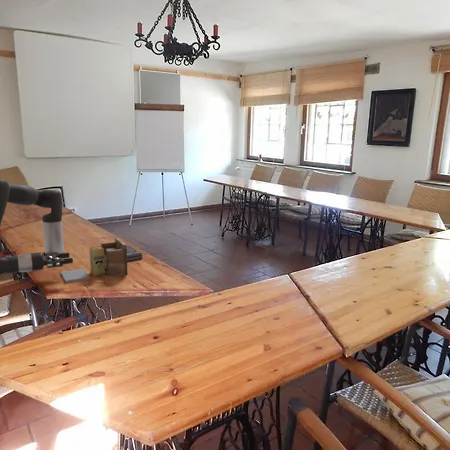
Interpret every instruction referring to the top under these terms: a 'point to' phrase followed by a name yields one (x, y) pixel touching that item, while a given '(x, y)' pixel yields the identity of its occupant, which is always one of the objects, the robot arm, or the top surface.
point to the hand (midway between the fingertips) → (70, 257)
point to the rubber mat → (75, 275)
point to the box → (133, 254)
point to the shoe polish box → (97, 260)
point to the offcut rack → (115, 257)
